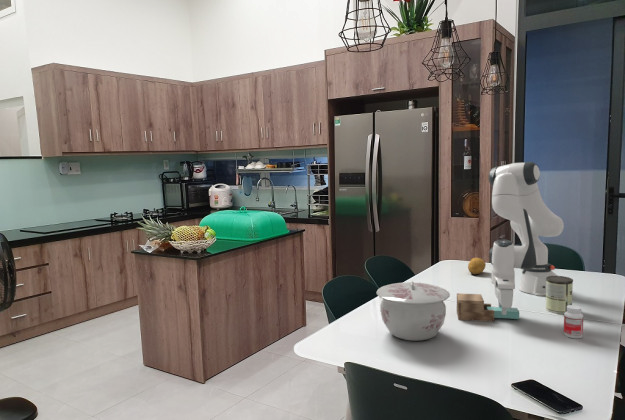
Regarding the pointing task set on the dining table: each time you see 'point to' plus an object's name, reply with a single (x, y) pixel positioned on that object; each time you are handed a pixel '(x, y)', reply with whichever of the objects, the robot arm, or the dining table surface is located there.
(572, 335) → the pill bottle
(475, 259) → the potato
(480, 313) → the wooden stepped block
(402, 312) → the chamber pot
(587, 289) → the dining table surface
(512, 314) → the teal rectangular block
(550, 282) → the coffee can
